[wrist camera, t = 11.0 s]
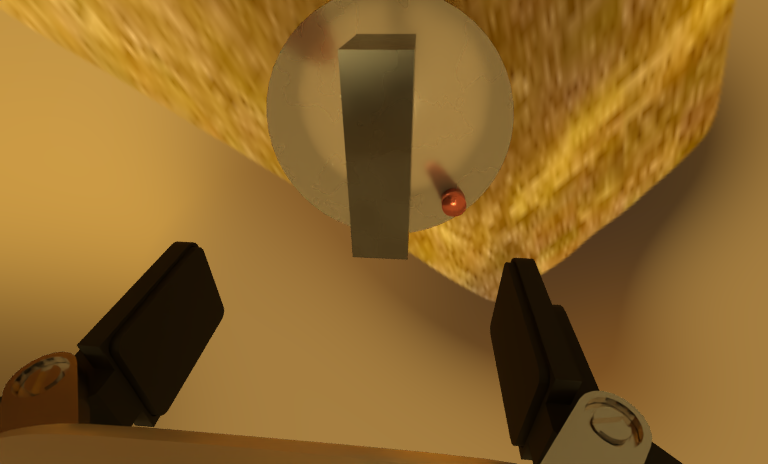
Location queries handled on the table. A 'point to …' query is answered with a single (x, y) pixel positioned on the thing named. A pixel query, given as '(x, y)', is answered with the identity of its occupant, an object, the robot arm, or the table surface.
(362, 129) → the lid
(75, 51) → the table surface
